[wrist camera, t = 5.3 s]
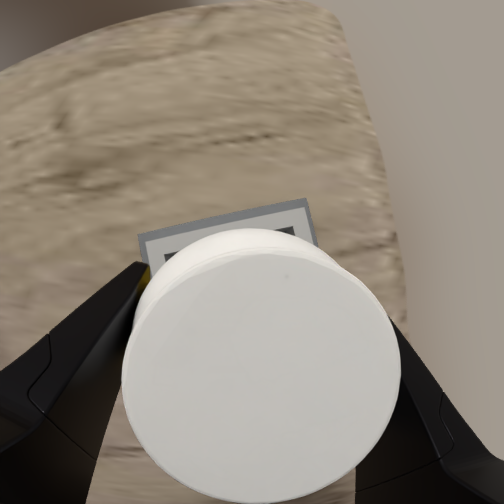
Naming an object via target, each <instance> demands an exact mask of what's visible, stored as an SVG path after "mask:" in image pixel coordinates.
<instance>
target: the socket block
mask: <svg viewBox="0 0 504 504" xmlns="http://www.w3.org/2000/svg"><path fill="white" fill-rule="evenodd" d="M244 228H256V229H268V230H274V231H279V232H283V233H287V234H290V235H293V236H296V237H299V238H301V239H303V240H305V241H307V242H309V243H311V244H313V245H314V246H316V247H317V248H318V243H317V239H316V235H315V231H314V227H313V223H312V219H311V215H310V211H309V207H308V203H307V199H306V198H302V199H297V200H292V201H287V202H282V203H277V204H272V205H267V206H262V207H257V208H252V209H247V210H243V211H238V212H233V213H229V214H224V215H219V216H215V217H210V218H206V219H201V220H197V221H192V222H188V223H184V224H179V225H175V226H171V227H167V228H162V229H158V230H154V231H150V232H146V233H142V234H138V240H139V245H140V250H141V256H142V261H143V263H147V264H149V266H150V277H151V279H152V278H153V276H154V275H155V274H156V273H157V271H158V270H159V269H160V268H161V267H162V266H163V265H164V264H165V263H166V262H167V261H168V260H169V259H170V258H171V257H173V256H174V255H175V254H176V253H178V252H179V251H181V250H182V249H184V248H185V247H187V246H189V245H190V244H192V243H194V242H196V241H198V240H200V239H202V238H205V237H207V236H210V235H213V234H216V233H219V232H223V231H228V230H234V229H244Z"/></svg>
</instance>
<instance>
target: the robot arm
mask: <svg viewBox="0 0 504 504" xmlns="http://www.w3.org/2000/svg"><path fill="white" fill-rule="evenodd" d="M150 281H151V277H150V266H149V264H147V263H143V262H138V261H136V262H134V263H132V264H131V265H130V266H128V267H127V268H126V269H125V270H123V271H122V272H121V273H120V274H118V275H117V276H116V277H115V278H113V279H112V280H111V281H110V282H108V283H107V284H106V285H105V286H103V287H102V288H101V289H100V290H98V291H97V292H96V293H95V294H93V295H92V296H91V297H90V298H89V299H87V300H86V301H85V302H84V303H83V304H81V305H80V306H79V307H78V308H77V309H75V310H74V311H73V312H72V313H71V314H69V315H68V316H67V317H66V318H65V319H64V320H62V321H61V322H60V323H59V324H58V325H57V326H55V327H54V328H53V329H52V330H51V331H50V332H49V334H46V335H45V336H44V337H43V338H42V339H40V340H39V341H38V342H37V343H36V344H35V345H33V346H32V347H31V348H30V349H29V350H27V351H26V352H25V353H24V354H22V355H21V356H20V357H19V358H17V359H16V360H15V361H13V362H12V363H11V364H9V365H8V366H7V367H5V368H4V369H3V370H1V371H0V504H85V503H86V499H87V495H88V491H89V488H90V484H91V480H92V476H93V473H94V469H95V466H96V461H97V458H98V455H99V452H100V448H101V445H102V442H103V438H104V435H105V432H106V429H107V425H108V422H109V419H110V416H111V413H112V410H113V407H114V404H115V401H116V398H117V395H118V392H119V389H120V386H121V383H122V380H121V378H122V366H123V360H124V355H125V351H126V347H127V344H128V341H129V338H130V335H131V329H132V323H133V319H134V315H135V311H136V308H137V306H138V303H139V300H140V298H141V296H142V294H143V292H144V290H145V289H146V287H147V285H148V284H149V282H150ZM387 316H388V315H387ZM388 318H389V320H390V322H391V324H392V326H393V329H394V332H395V335H396V338H397V342H398V347H399V352H400V362H401V377H400V385H399V392H398V398H397V401H396V404H395V408H394V411H393V413H392V416H391V418H390V420H389V423H388V425H387V427H386V429H385V430H384V432H383V434H382V436H381V437H380V439H379V440H378V442H377V443H376V444H375V446H374V447H373V448H372V450H371V451H370V452H369V453H368V454H367V455H366V456H365V458H364V459H363V460H362V461H361V462H360V463H359V464H358V465H356V485H355V492H356V493H355V504H504V461H503V460H501V459H499V458H497V457H495V456H494V455H492V454H491V453H490V452H489V451H488V449H487V448H486V447H485V446H484V445H483V444H482V442H481V441H480V439H479V438H478V437H477V436H476V434H475V433H474V432H473V430H472V429H471V428H470V427H469V425H468V424H467V423H466V422H465V420H464V419H463V418H462V416H461V415H460V414H459V412H458V411H457V410H456V408H455V407H454V405H453V404H452V403H451V401H450V400H449V398H448V397H447V395H446V394H445V393H444V392H443V390H442V388H441V387H440V385H439V384H438V383H437V381H436V380H435V378H434V377H433V375H432V374H431V373H430V371H429V370H428V369H427V367H426V366H425V364H424V363H423V362H422V360H421V359H420V357H419V356H418V355H417V353H416V352H415V351H414V349H413V348H412V346H411V345H410V344H409V342H408V341H407V340H406V338H405V337H404V336H403V334H402V333H401V332H400V330H399V329H398V328H397V327H396V325H395V324H394V323H393V321H392V320H391V319H390V317H389V316H388Z"/></svg>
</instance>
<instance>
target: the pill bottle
mask: <svg viewBox="0 0 504 504" xmlns="http://www.w3.org/2000/svg"><path fill="white" fill-rule="evenodd" d="M400 377H401V362H400V352H399V347H398V342H397V338H396V335H395V332H394V329H393V326H392V324H391V322H390V320H389V318H388V316H387V314H386V312H385V310H384V308H383V307H382V305H381V304H380V303H379V301H378V300H377V298H376V297H375V296H374V295H373V294H372V292H371V291H370V290H369V289H368V288H367V287H366V286H365V285H364V284H363V283H362V282H361V281H360V280H359V279H357V278H356V277H355V276H353V275H352V274H350V273H349V272H348V271H346V270H345V269H343V268H341V267H340V266H339V265H338V264H337V263H336V262H335V261H334V260H333V259H332V258H331V257H330V256H328V255H327V254H326V253H325V252H323V251H322V250H320V249H319V248H317V247H316V246H314V245H313V244H311V243H309V242H307V241H305V240H303V239H301V238H299V237H296V236H293V235H290V234H287V233H283V232H279V231H274V230H268V229H256V228H244V229H234V230H228V231H223V232H219V233H216V234H213V235H210V236H207V237H205V238H202V239H200V240H198V241H196V242H194V243H192V244H190V245H189V246H187V247H185V248H184V249H182V250H181V251H179V252H178V253H176V254H175V255H174V256H173V257H171V258H170V259H169V260H168V261H167V262H166V263H165V264H164V265H163V266H162V267H161V268H160V269H159V270H158V271H157V273H156V274H155V275H154V276H153V278H152V279H151V281H150V282H149V284H148V285H147V287H146V289H145V290H144V292H143V294H142V296H141V298H140V300H139V303H138V306H137V308H136V311H135V315H134V319H133V323H132V329H131V335H130V338H129V341H128V344H127V347H126V351H125V355H124V360H123V366H122V378H121V380H122V394H123V401H124V406H125V410H126V413H127V417H128V420H129V422H130V425H131V427H132V429H133V432H134V433H135V435H136V437H137V439H138V441H139V443H140V444H141V445H142V447H143V448H144V449H145V451H146V452H147V453H148V455H149V456H150V457H151V458H152V459H153V461H154V462H155V463H156V464H157V465H158V466H159V467H160V468H162V469H163V470H164V471H165V472H166V473H167V474H169V475H170V476H171V477H173V478H174V479H175V480H177V481H178V482H180V483H181V484H183V485H185V486H186V487H188V488H190V489H192V490H194V491H197V492H199V493H202V494H204V495H207V496H210V497H213V498H217V499H220V500H224V501H229V502H236V503H246V504H269V503H277V502H283V501H288V500H292V499H296V498H300V497H303V496H306V495H309V494H311V493H313V492H316V491H318V490H320V489H322V488H324V487H326V486H328V485H330V484H331V483H333V482H335V481H337V480H338V479H340V478H341V477H343V476H344V475H345V474H347V473H348V472H349V471H351V470H352V469H353V468H354V467H355V466H356V465H358V464H359V463H360V462H361V461H362V460H363V459H364V458H365V456H366V455H367V454H368V453H369V452H370V451H371V450H372V448H373V447H374V446H375V444H376V443H377V442H378V440H379V439H380V437H381V436H382V434H383V432H384V430H385V429H386V427H387V425H388V423H389V420H390V418H391V416H392V413H393V411H394V408H395V404H396V401H397V398H398V392H399V385H400Z"/></svg>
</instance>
